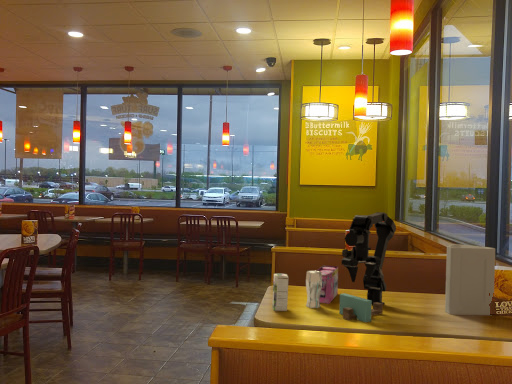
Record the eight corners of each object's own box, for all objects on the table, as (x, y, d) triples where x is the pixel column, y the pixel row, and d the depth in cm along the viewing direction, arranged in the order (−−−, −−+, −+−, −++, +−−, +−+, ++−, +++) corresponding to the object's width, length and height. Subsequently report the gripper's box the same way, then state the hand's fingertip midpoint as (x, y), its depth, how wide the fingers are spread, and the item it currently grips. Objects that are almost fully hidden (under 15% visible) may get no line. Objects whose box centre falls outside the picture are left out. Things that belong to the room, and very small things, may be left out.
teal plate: (339, 313, 182) (339, 294, 182) (344, 312, 184) (345, 293, 184) (365, 322, 171) (366, 301, 171) (371, 321, 173) (371, 300, 173)
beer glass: (320, 309, 189) (321, 273, 189) (304, 307, 190) (305, 272, 190) (321, 305, 196) (322, 271, 196) (305, 303, 197) (306, 269, 197)
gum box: (329, 304, 197) (330, 274, 198) (311, 302, 200) (312, 272, 200) (337, 293, 220) (338, 266, 220) (321, 292, 223) (322, 265, 223)
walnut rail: (376, 311, 187) (376, 302, 187) (382, 313, 185) (382, 303, 185) (342, 318, 176) (343, 307, 176) (348, 320, 173) (348, 309, 173)
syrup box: (271, 307, 189) (272, 273, 189) (285, 307, 189) (286, 273, 190) (273, 311, 183) (274, 275, 183) (287, 311, 184) (288, 275, 184)
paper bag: (475, 306, 203) (477, 244, 203) (494, 315, 188) (496, 248, 188) (434, 305, 202) (435, 243, 202) (449, 314, 187) (451, 247, 187)
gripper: (362, 241, 203) (361, 276, 203) (332, 243, 192) (331, 279, 192) (382, 244, 194) (381, 280, 194) (352, 246, 183) (350, 284, 183)
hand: (360, 281), depth 191 cm, fingers open, 9 cm apart
